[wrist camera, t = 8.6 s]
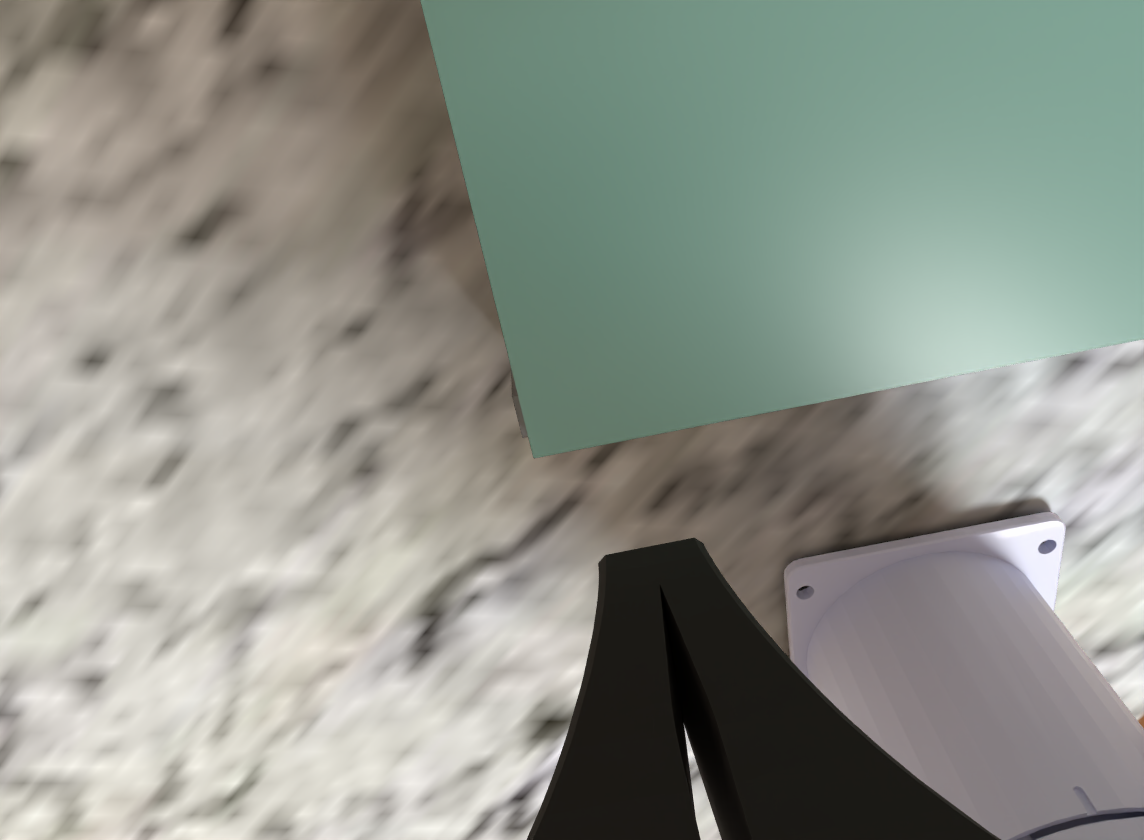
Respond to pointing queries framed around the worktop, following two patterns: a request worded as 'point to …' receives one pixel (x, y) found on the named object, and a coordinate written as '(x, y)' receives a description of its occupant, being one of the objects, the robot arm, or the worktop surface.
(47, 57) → the worktop surface
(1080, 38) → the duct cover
